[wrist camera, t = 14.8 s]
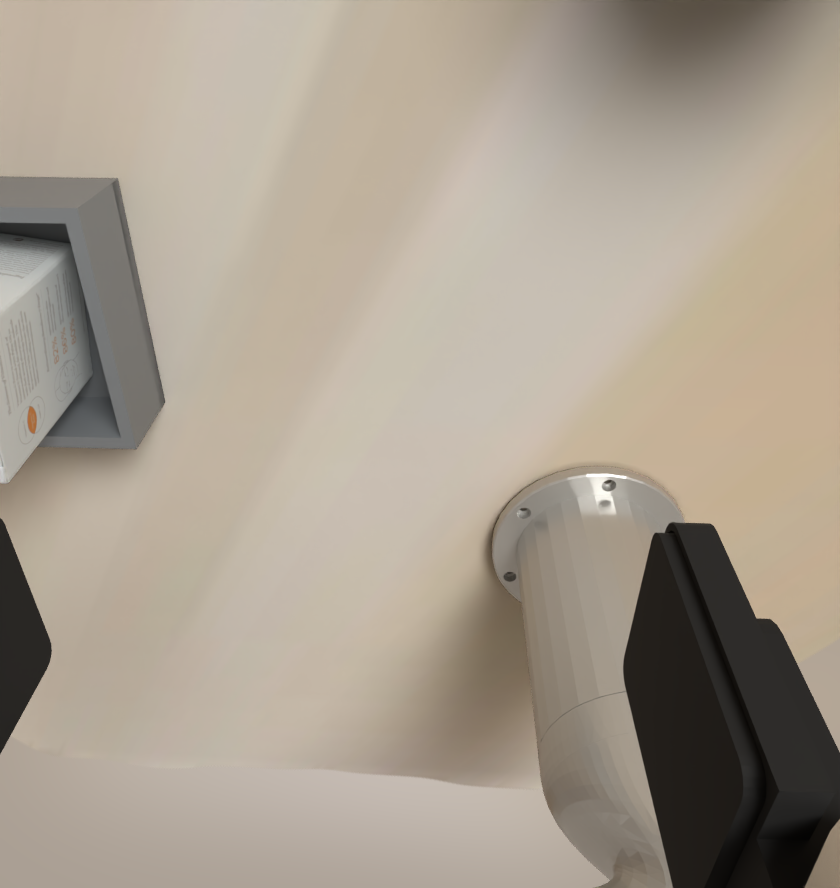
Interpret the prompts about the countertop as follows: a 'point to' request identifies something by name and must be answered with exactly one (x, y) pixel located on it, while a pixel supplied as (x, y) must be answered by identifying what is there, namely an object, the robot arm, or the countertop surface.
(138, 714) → the countertop surface
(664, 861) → the robot arm
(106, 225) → the crate
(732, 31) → the countertop surface
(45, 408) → the small box
